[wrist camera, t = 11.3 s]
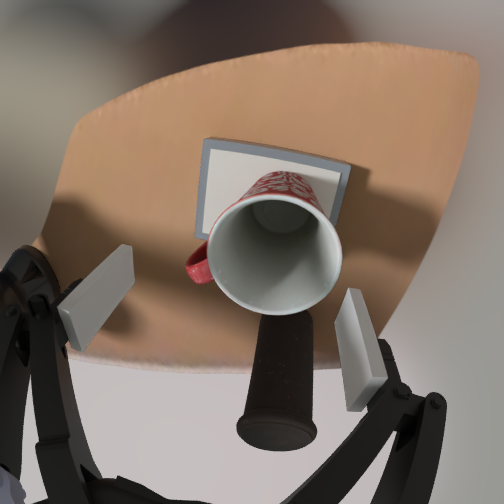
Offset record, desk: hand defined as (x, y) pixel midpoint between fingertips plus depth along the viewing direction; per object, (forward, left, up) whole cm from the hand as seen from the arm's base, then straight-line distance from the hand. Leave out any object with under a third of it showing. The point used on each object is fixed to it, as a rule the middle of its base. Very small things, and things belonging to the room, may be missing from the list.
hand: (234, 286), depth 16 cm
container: (+6, -19, -20) cm, 28 cm away
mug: (0, 0, -16) cm, 16 cm away
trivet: (0, 0, -20) cm, 19 cm away
